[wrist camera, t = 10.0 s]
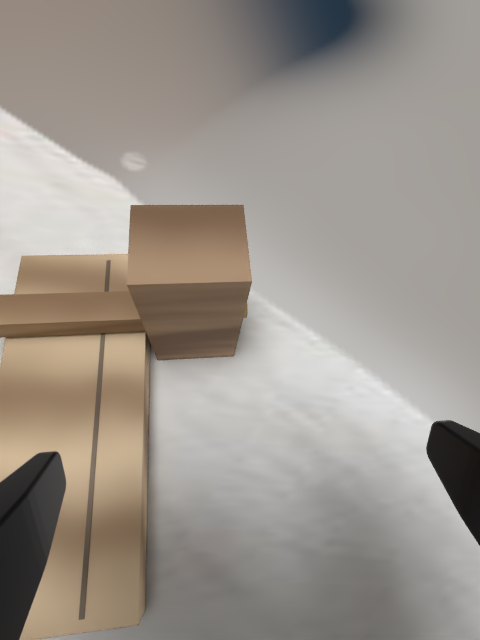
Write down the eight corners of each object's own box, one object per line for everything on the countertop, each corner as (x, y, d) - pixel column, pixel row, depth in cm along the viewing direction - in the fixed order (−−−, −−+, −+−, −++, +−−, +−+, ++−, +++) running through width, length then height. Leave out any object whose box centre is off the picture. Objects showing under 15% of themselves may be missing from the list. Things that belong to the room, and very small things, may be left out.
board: (145, 609, 18) (138, 626, 16) (-27, 632, 17) (-56, 652, 15) (151, 269, 26) (147, 253, 24) (35, 272, 25) (21, 255, 23)
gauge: (243, 355, 24) (267, 280, 15) (2, 368, 22) (-143, 292, 13) (238, 302, 25) (257, 204, 16) (13, 310, 23) (-109, 205, 14)
